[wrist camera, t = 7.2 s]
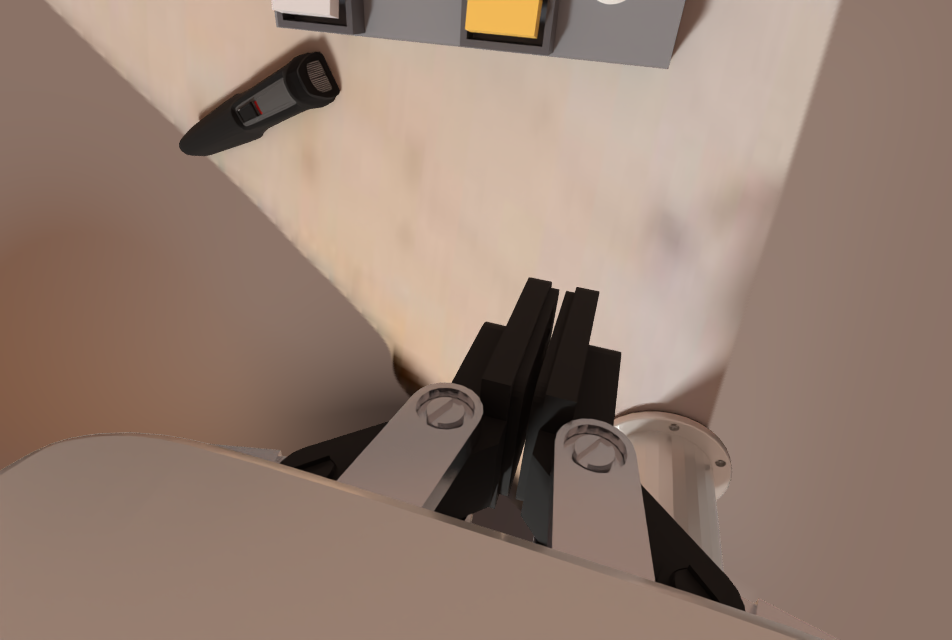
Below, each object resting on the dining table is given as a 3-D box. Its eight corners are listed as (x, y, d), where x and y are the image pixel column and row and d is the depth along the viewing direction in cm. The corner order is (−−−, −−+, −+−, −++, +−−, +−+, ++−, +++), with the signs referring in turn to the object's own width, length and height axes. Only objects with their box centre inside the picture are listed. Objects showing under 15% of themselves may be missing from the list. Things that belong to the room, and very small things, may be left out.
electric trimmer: (192, 119, 45) (164, 127, 42) (321, 46, 38) (296, 50, 35) (217, 160, 46) (191, 170, 44) (345, 97, 39) (323, 104, 37)
